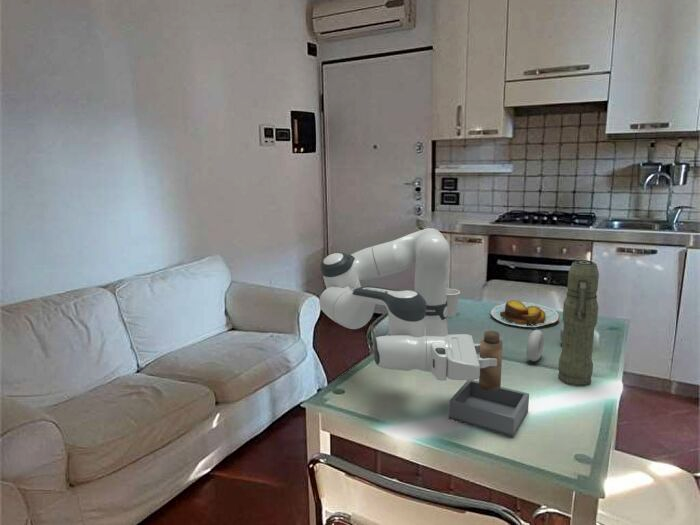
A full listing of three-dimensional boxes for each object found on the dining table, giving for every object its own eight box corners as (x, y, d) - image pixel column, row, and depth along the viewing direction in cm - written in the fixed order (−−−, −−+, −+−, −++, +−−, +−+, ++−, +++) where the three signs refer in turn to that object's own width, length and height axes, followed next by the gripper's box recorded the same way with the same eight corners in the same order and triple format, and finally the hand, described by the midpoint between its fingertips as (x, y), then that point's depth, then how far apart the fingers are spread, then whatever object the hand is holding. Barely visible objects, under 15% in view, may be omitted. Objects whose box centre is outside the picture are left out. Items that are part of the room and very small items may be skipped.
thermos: (588, 372, 148) (598, 258, 140) (594, 390, 137) (606, 267, 129) (556, 369, 150) (564, 256, 143) (559, 386, 139) (569, 266, 132)
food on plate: (572, 322, 191) (573, 306, 189) (527, 335, 179) (528, 318, 177) (520, 305, 212) (520, 290, 211) (477, 315, 200) (477, 300, 199)
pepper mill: (476, 388, 123) (477, 334, 120) (482, 379, 127) (484, 328, 124) (497, 392, 120) (499, 338, 117) (502, 384, 124) (505, 331, 121)
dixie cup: (440, 310, 207) (441, 287, 204) (461, 312, 203) (461, 289, 201) (436, 317, 199) (436, 293, 197) (457, 319, 196) (457, 295, 194)
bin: (448, 419, 124) (448, 401, 123) (467, 395, 135) (468, 379, 134) (513, 437, 115) (514, 418, 114) (528, 411, 127) (529, 393, 126)
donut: (535, 367, 152) (537, 336, 150) (524, 364, 154) (526, 334, 152) (544, 356, 160) (546, 326, 158) (533, 353, 162) (535, 324, 160)
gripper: (436, 349, 134) (488, 351, 132) (439, 384, 115) (500, 386, 113) (436, 327, 133) (489, 329, 131) (439, 358, 113) (501, 361, 111)
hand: (494, 356), depth 122 cm, fingers closed on pepper mill, 5 cm apart
